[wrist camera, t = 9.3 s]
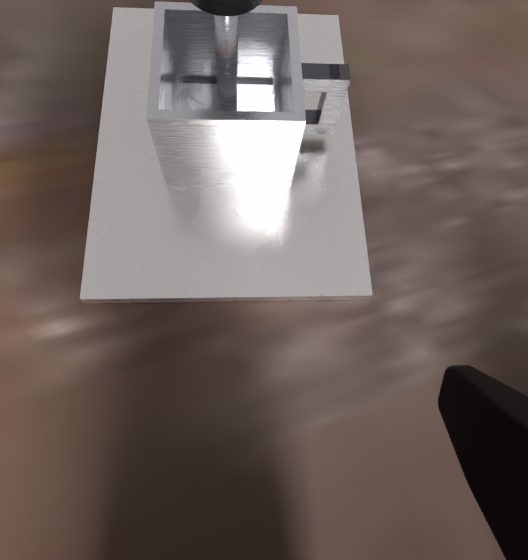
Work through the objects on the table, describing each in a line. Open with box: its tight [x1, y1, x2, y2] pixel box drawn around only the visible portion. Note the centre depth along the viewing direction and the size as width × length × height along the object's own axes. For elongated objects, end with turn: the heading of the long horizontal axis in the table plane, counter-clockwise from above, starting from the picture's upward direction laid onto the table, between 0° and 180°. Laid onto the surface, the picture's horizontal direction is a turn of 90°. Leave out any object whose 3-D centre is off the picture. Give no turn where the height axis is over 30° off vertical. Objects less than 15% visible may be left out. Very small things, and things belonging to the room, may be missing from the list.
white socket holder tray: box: [80, 1, 373, 304], centre depth 22 cm, size 20×15×6 cm
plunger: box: [181, 0, 275, 112], centre depth 19 cm, size 5×5×11 cm
